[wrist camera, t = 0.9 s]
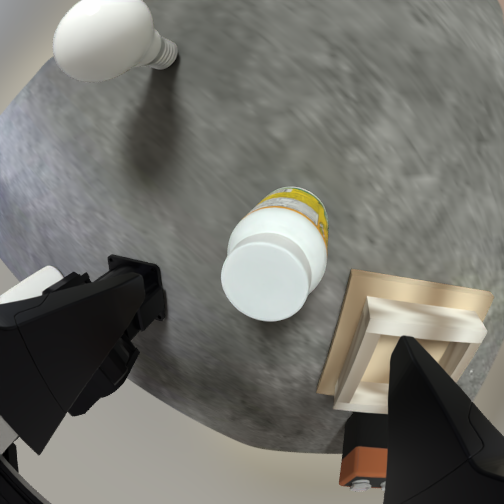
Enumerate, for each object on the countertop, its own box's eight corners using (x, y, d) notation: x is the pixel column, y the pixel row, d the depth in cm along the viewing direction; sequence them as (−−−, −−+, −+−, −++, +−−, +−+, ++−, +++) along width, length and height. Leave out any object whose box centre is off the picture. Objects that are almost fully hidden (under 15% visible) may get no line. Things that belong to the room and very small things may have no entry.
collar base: (317, 386, 27) (312, 415, 23) (351, 268, 21) (354, 295, 17) (431, 395, 23) (437, 422, 20) (489, 291, 18) (508, 316, 14)
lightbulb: (199, 14, 16) (111, -41, 6) (206, 80, 18) (104, 49, 8) (136, 38, 18) (39, 14, 8) (139, 99, 20) (32, 98, 10)
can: (69, 273, 31) (3, 320, 20) (75, 311, 34) (19, 358, 23) (43, 258, 32) (-19, 296, 21) (49, 294, 35) (-4, 334, 24)
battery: (358, 404, 26) (353, 481, 18) (407, 411, 25) (412, 482, 16) (343, 423, 28) (335, 493, 19) (390, 429, 27) (390, 495, 18)
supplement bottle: (274, 173, 20) (229, 202, 11) (341, 206, 19) (349, 262, 11) (247, 235, 22) (193, 300, 14) (308, 266, 22) (290, 349, 13)
